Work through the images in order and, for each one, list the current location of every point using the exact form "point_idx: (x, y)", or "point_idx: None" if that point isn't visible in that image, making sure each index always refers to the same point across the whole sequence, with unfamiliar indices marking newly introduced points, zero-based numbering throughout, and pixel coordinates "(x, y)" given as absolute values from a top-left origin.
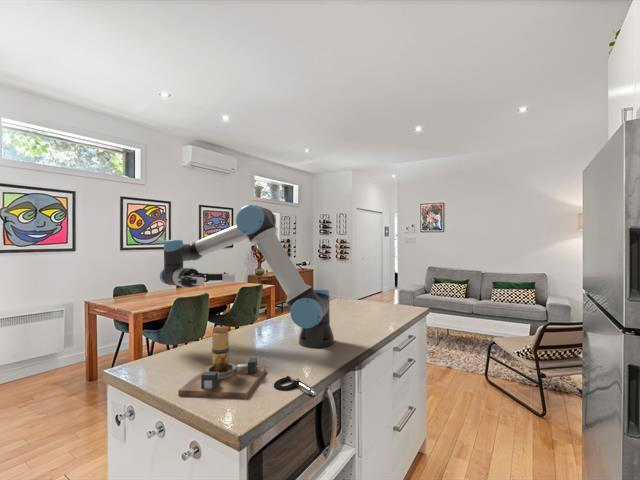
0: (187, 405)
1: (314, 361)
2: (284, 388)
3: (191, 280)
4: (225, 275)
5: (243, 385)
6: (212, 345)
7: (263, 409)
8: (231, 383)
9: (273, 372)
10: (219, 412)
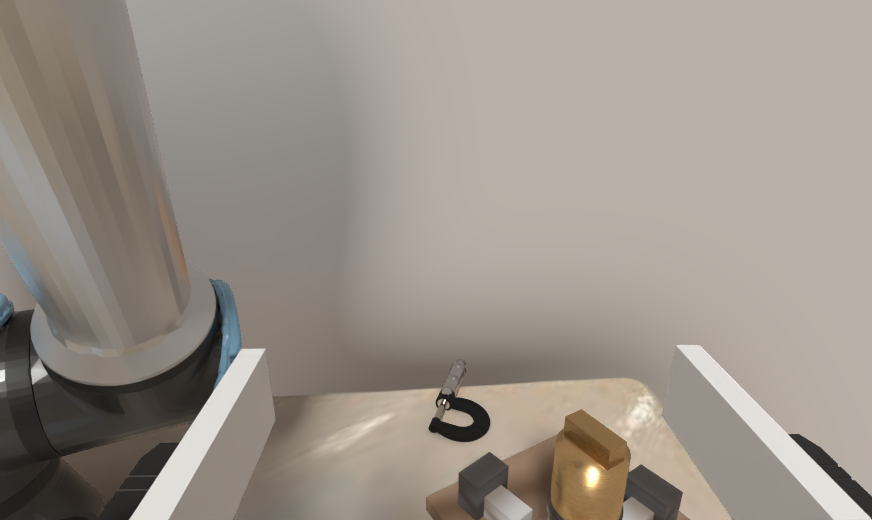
0: (721, 509)
1: (271, 454)
2: (479, 409)
3: (843, 483)
4: (207, 472)
5: None
6: (622, 502)
7: (565, 394)
8: None
9: (415, 488)
10: (649, 437)
